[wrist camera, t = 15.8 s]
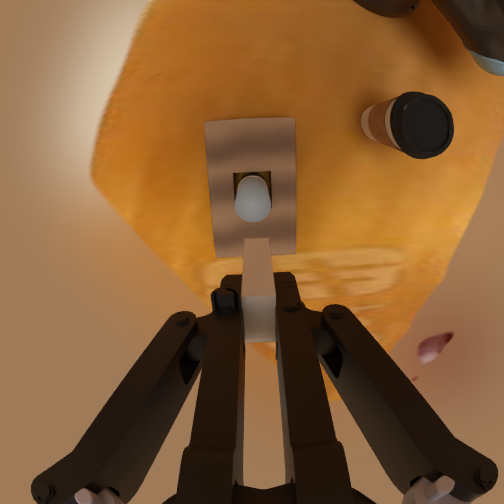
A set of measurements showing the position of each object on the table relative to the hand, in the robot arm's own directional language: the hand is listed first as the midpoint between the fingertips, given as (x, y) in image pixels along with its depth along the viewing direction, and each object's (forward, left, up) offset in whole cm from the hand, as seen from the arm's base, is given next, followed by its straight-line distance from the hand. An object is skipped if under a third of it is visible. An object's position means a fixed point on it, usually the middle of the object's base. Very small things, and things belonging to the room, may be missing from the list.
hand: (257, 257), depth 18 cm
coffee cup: (-10, +20, -26) cm, 34 cm away
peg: (0, 0, -26) cm, 26 cm away
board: (0, 0, -26) cm, 26 cm away
